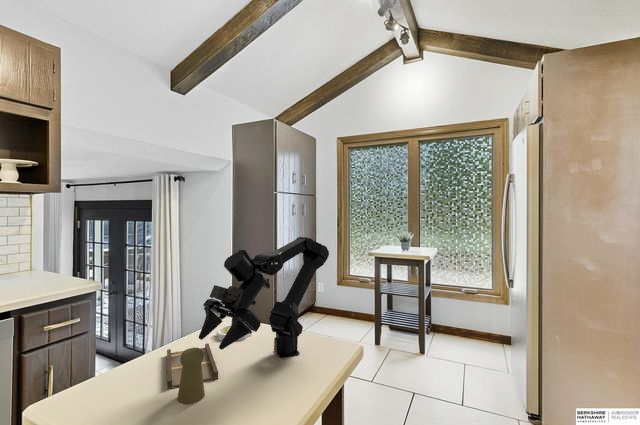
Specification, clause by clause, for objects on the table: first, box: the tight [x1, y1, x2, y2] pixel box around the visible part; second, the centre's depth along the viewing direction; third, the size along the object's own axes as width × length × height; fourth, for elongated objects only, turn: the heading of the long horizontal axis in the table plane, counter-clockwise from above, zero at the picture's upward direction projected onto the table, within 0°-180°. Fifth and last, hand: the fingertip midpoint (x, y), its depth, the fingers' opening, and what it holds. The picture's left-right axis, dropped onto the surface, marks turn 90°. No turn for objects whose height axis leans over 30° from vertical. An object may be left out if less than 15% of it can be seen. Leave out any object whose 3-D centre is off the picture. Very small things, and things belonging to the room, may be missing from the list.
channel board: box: [166, 343, 219, 390], centre depth 89 cm, size 12×21×2 cm, turn 26°
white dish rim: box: [216, 324, 253, 342], centre depth 114 cm, size 12×12×2 cm
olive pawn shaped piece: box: [176, 347, 206, 405], centre depth 74 cm, size 6×6×11 cm
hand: (209, 343), depth 78 cm, fingers open, 9 cm apart
